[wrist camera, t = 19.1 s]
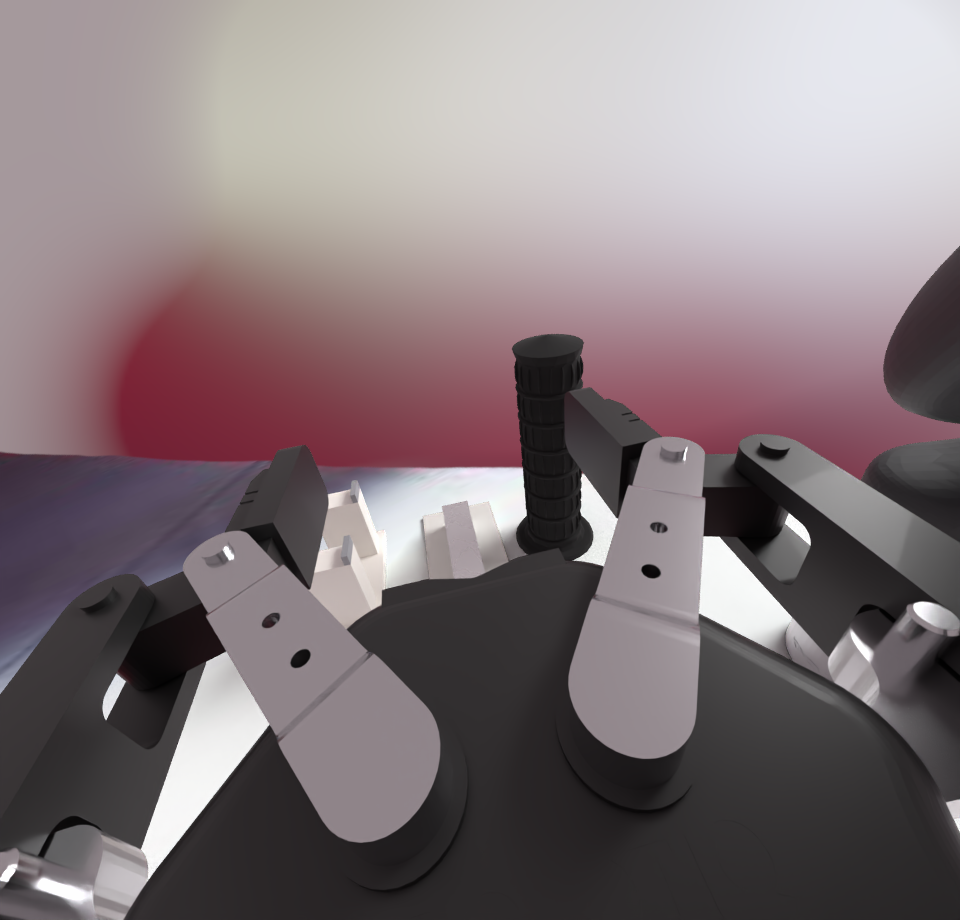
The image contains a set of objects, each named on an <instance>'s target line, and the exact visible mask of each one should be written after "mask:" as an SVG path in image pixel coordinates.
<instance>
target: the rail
mask: <svg viewBox="0 0 960 920" xmlns="http://www.w3.org/2000/svg"><path fill="white" fill-rule="evenodd" d="M442 509H443V515H444V521H445V527H446V533H447V539H448V545H449V552H450V558H451V564H452V570H453V576H454V579H458V578H474V577H477V576H479V575H482V574H484V573H485V570H484V566H483V562H482V558H481V554H480V550H479V546H478V542H477V538H476V534H475V530H474V526H473V522H472V518H471V514H470V510H469V506H468V502H467V501H464V502H460V503H455V504H451V505H446V506H442Z"/></svg>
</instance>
